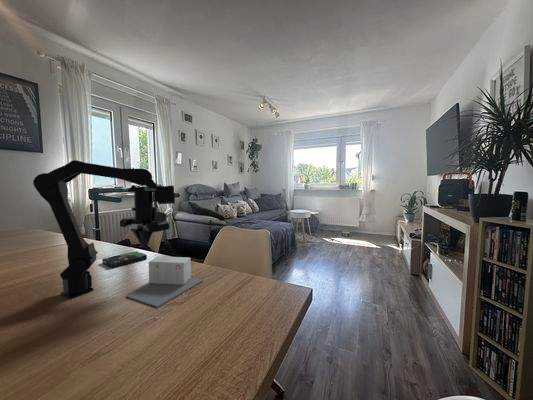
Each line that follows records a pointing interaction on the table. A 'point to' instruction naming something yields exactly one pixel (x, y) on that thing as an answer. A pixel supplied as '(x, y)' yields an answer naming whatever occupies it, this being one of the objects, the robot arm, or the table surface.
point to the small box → (170, 270)
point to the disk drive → (124, 259)
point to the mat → (161, 292)
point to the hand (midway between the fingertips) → (144, 247)
